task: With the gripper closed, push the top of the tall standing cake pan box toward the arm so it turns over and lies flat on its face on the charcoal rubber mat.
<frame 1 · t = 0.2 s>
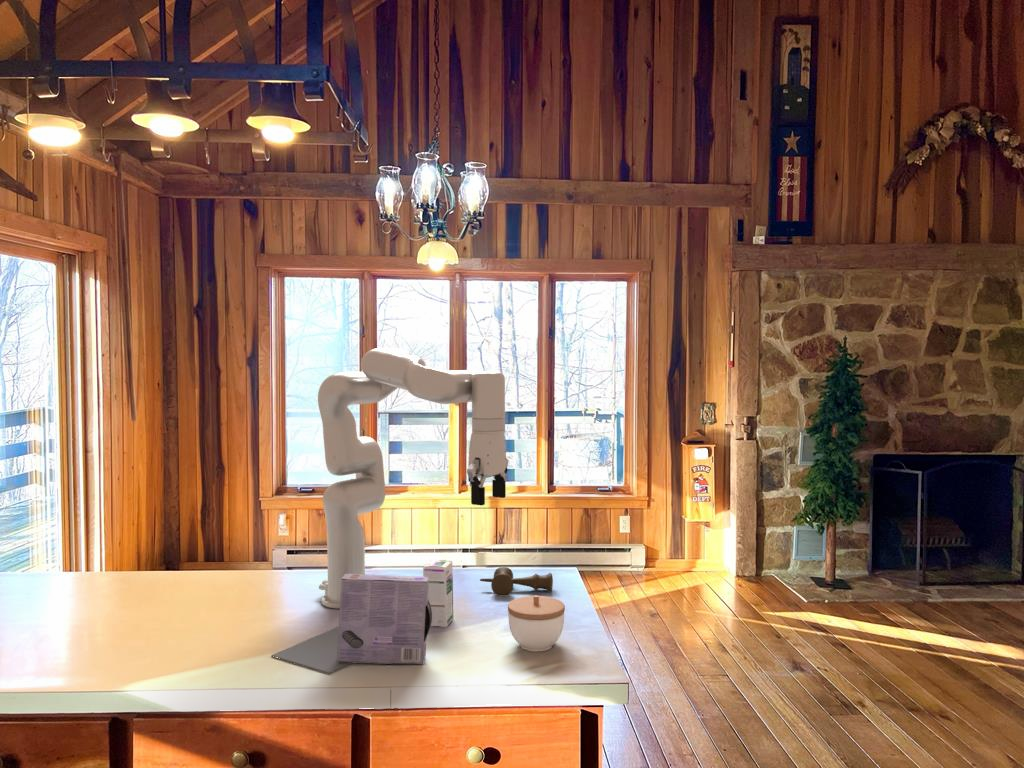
hand: (488, 500, 171), 31 cm above the worktop, tool pointing down, fingers open, 9 cm apart
kendama: (516, 591, 205), on the worktop
cake pan box: (384, 660, 158), on the worktop, touching rubber mat
syrup box: (438, 623, 181), on the worktop
lidded bowl: (536, 646, 166), on the worktop
rubber mat: (337, 647, 165), on the worktop
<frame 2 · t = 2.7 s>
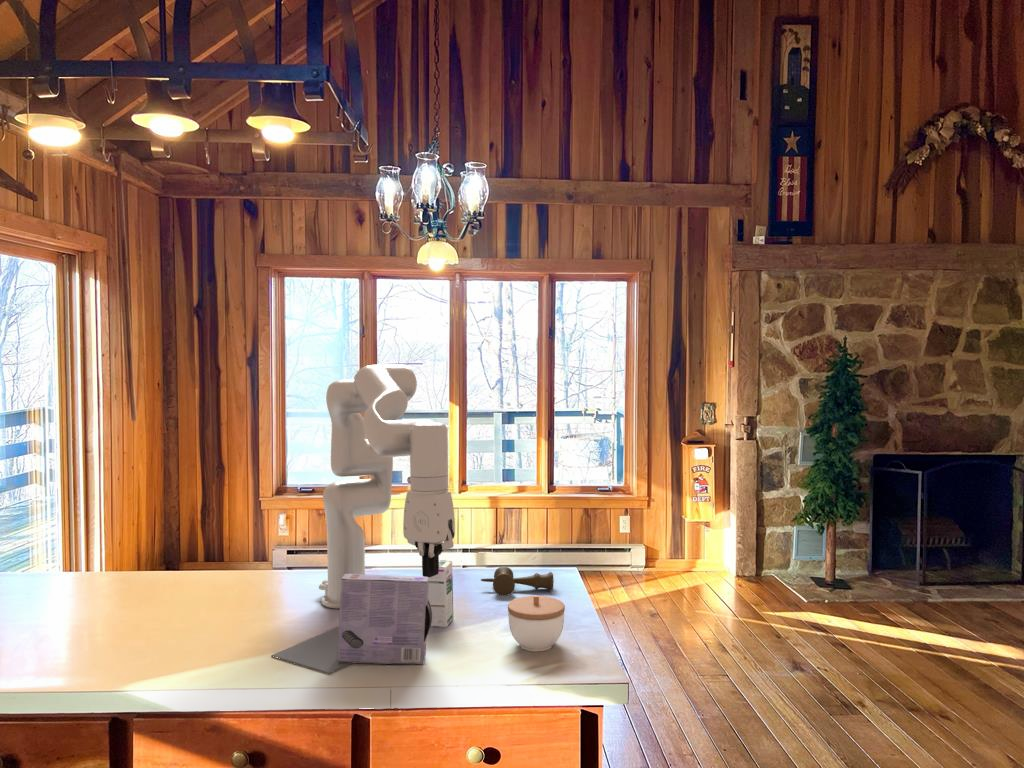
hand: (430, 575, 151), 20 cm above the worktop, tool pointing down, fingers closed
nothing on the worktop moved.
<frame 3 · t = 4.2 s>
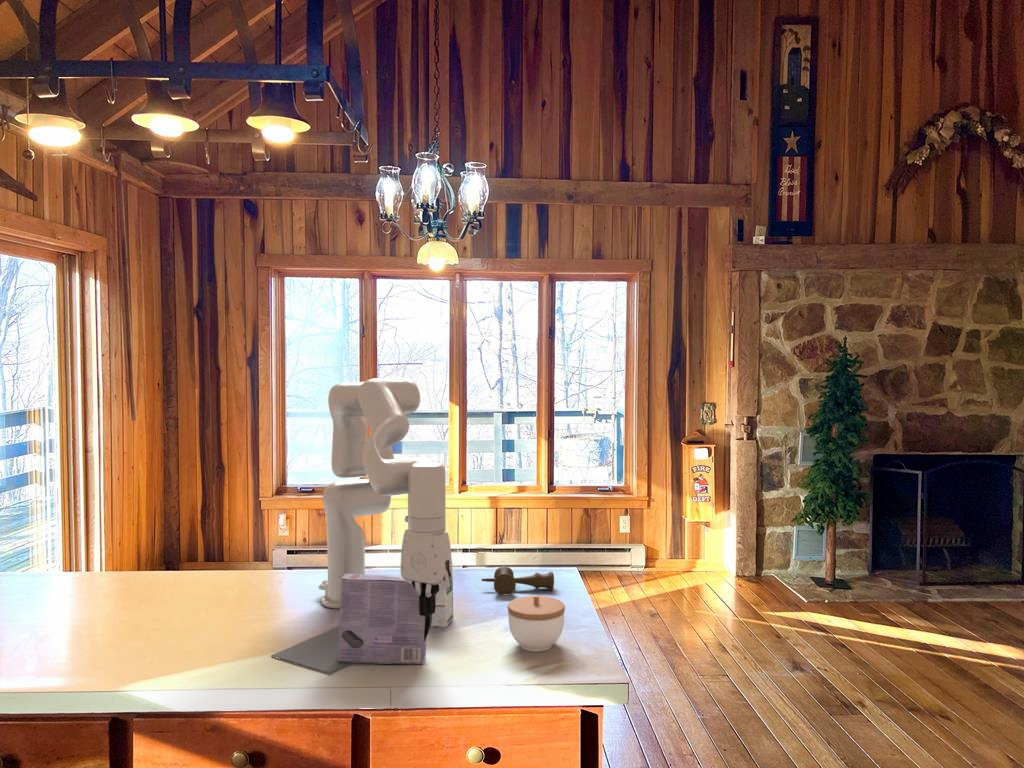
hand: (427, 614, 152), 12 cm above the worktop, tool pointing down, fingers closed
nothing on the worktop moved.
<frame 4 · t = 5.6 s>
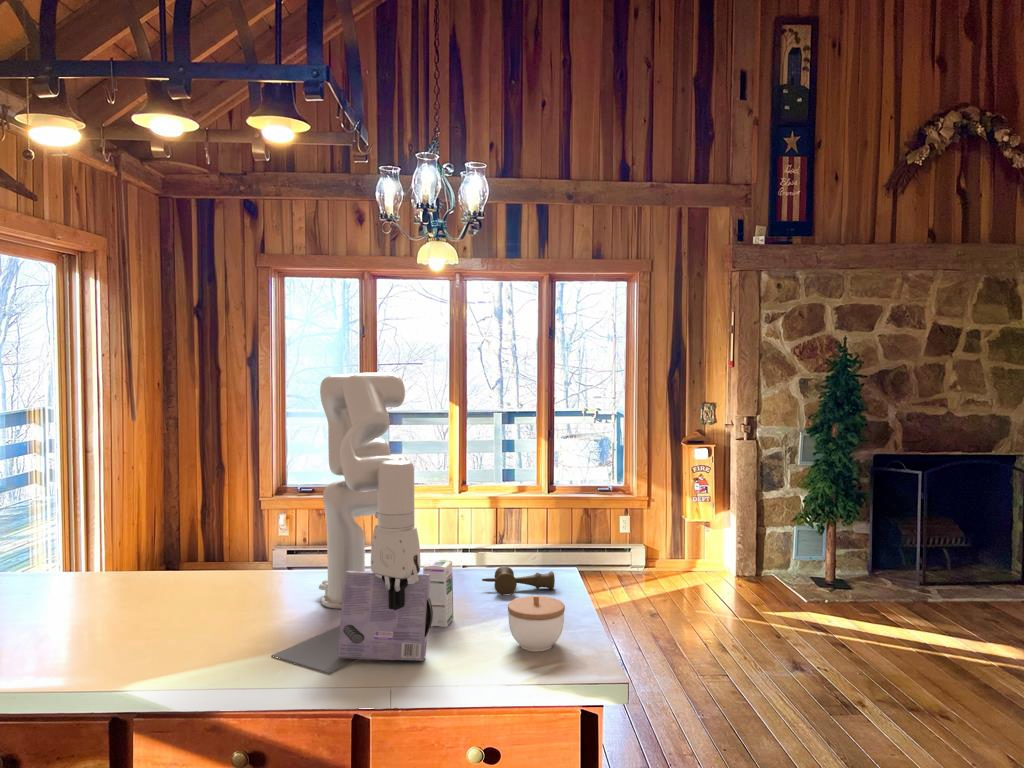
hand: (396, 607, 156), 12 cm above the worktop, tool pointing down, fingers closed
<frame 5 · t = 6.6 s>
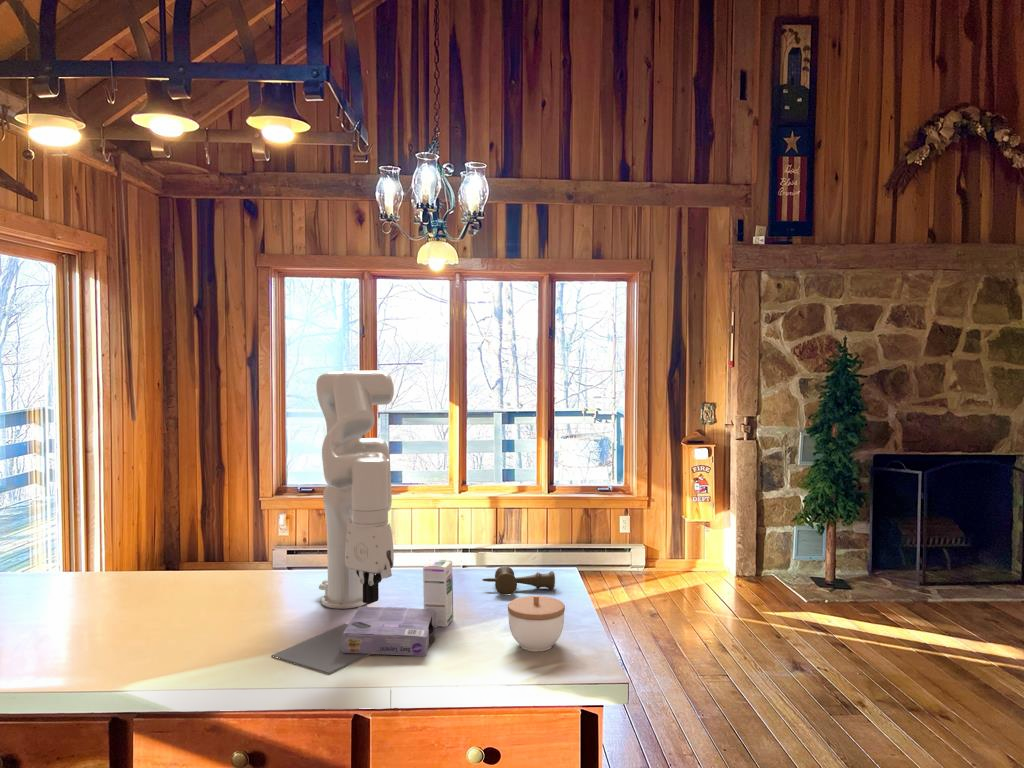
hand: (370, 601, 160), 12 cm above the worktop, tool pointing down, fingers closed
cake pan box: (386, 646, 160), point 2 cm above the worktop, touching rubber mat
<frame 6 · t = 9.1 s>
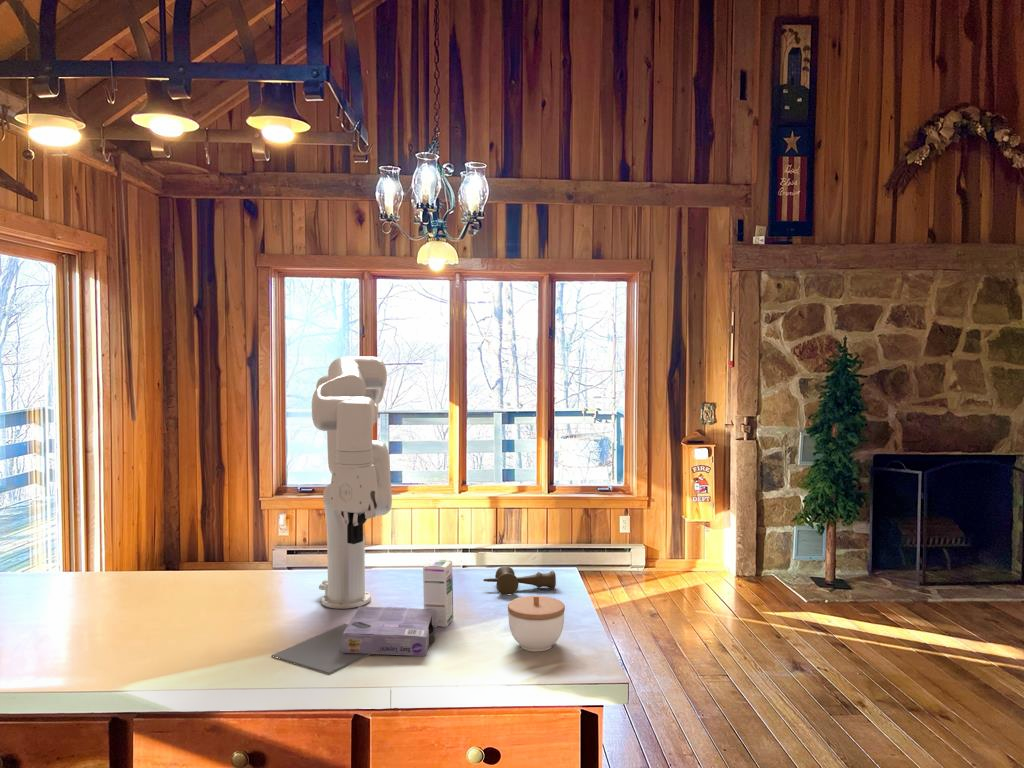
hand: (355, 542, 162), 24 cm above the worktop, tool pointing down, fingers closed
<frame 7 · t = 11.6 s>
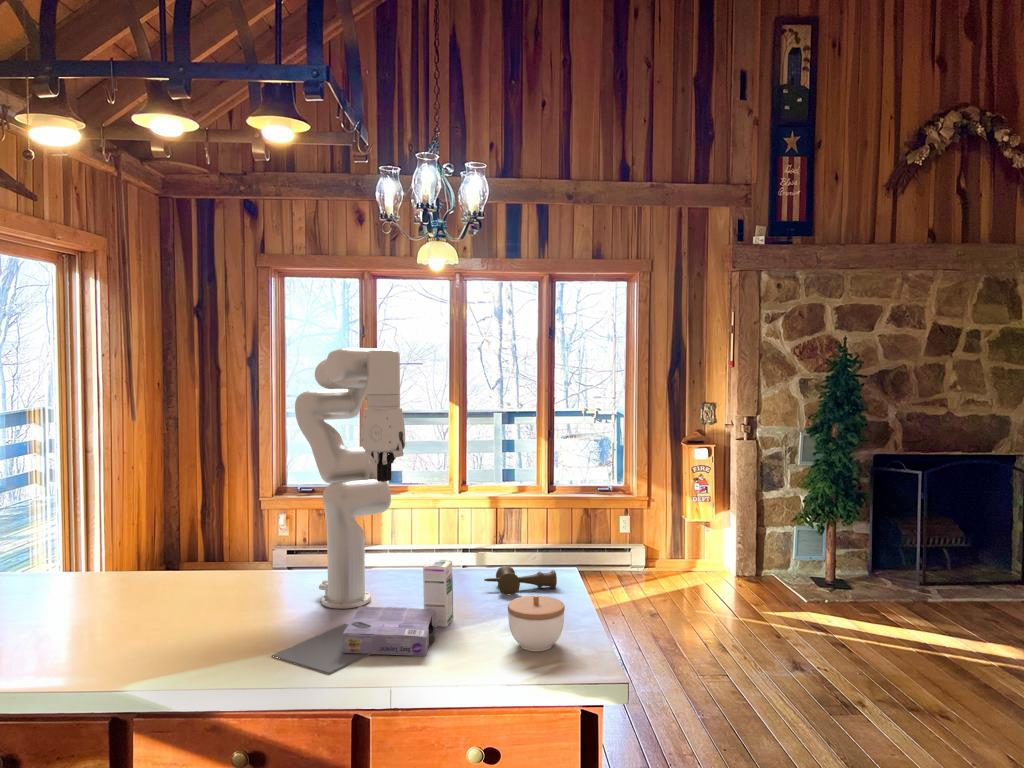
hand: (384, 480, 175), 35 cm above the worktop, tool pointing down, fingers closed
at the end: cake pan box tilted 88°; cake pan box touching rubber mat, worktop; the gripper is holding nothing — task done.
